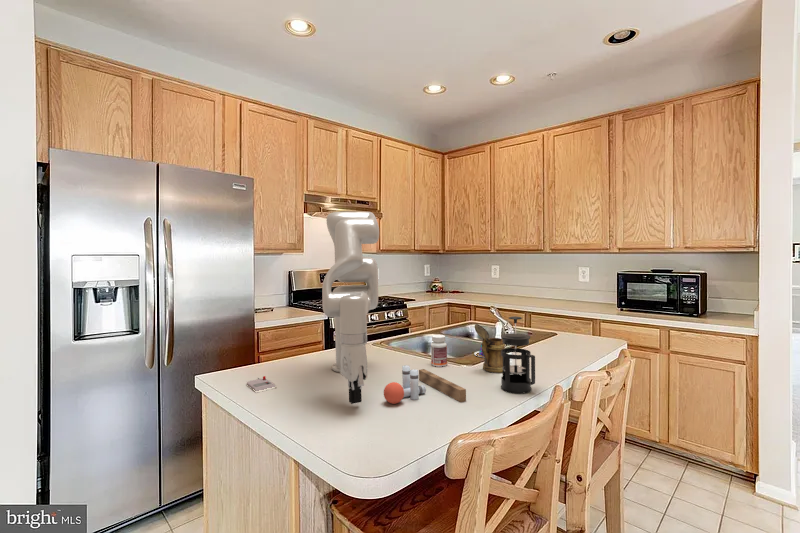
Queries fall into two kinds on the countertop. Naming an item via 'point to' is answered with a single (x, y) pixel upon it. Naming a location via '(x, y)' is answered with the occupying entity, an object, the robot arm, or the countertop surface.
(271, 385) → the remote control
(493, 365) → the wooden mug
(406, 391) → the front pin
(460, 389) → the back wall
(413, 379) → the pin
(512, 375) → the french press
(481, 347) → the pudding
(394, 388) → the ball
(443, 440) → the countertop surface
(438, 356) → the pill bottle
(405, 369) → the pin
